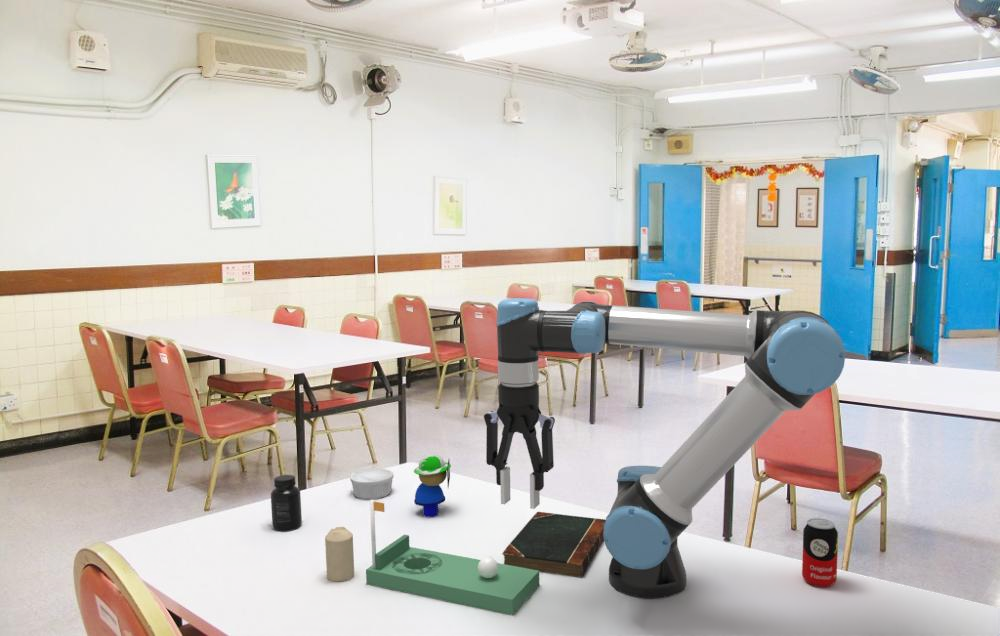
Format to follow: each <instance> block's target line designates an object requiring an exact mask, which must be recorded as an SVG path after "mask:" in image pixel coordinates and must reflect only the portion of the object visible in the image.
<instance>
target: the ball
mask: <svg viewBox="0 0 1000 636" xmlns="http://www.w3.org/2000/svg"><path fill="white" fill-rule="evenodd" d="M479 560H480V562H479V564H478V571H479V573H480V575H481V576H482V577H484V578H492V577H494V576H495V575H496V574H497V572H498V563H499V562H498V561H497V560H496V558H494V557H491V556H485V557H483V558H481V559H479Z"/></svg>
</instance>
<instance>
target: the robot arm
mask: <svg viewBox="0 0 1000 636" xmlns="http://www.w3.org/2000/svg"><path fill="white" fill-rule="evenodd" d="M495 327H496V334H497V337H496V338H497V339H496V340H497V380H498V382H499V384H498V386H497V392H498V393H497V395H498V399H497V402H498V408H497V410H495V411H492V410H491V411H488V412H486V413H485V414H483V419H484V422H485V426H486V442H485V443H486V456H485V457H486V461H485V462H486V464H487V465H488V466H492V467H493V468H494V469H495V474H496V475H495V477H496V478H495V479H496V480H495V481H496V484H497V486H500V505H507V503H508V502H509V501H511V466H506V465H508V458H509V454H510V450H511V445H512V442H513V438H514V434H515V433H518V434H522V437H523V439H524V440H525V445H526V448H527V451H528V456H529V459H530V462H531V466H532V470H533V472H531V473H529V500H530V501H529V503H530V504H529V505H530V506H529V509H533V510H535V509H536V508H537V507H538V506H539V505H540V504H541V503H540V492H541V491H542V490H543V489H544V486H545V478H544V477H545V476H544V475H545V474H544V473H548V472H549V471H551V470H552V469H553V468H554V466H555V464H554V440H553V439H554V438H553V437H554V436H553V428H554V426H555V422H556V419H555V417H554V416H550V417H548V416H545V415H544V414H542V411H541V410H540V405H539V404H540V386H539V383H537V382H538V381H539V379H540V376H539V373H540V372H539V360H540V359H539V352H541V353H546V352H547V353H549V352H550V353H565V354H566V353H570V354H580V355H585V354H597V353H598V354H599V353H600V352H602V351H603V349H604V346H605V345H619V346H628V347H630V346H631V347H639V348H640V347H641V348H653V349H655V348H656V349H663V350H674V351H686V352H695V353H696V352H697V353H698V352H699V353H706V354H707V353H708V354H716V355H717V354H718V355H727V356H728V355H729V356H738V357H739V356H741V357H742V356H743V357H744V358H746V359H747V360H746V361H745V362H744V369H745V370H744V372H745V375H744V376H743V378H742V379H741V380H740V381H739V382H738V384H736V386H735V387H733V389H732V390H731V391H730V392H729V393H728V394H727V395H726V396H725V398H724V399H723V400H722V401H721V402H720V403H719V404H718V405H717V406H716V408H714V409H713V411H712V412H711V413H710V414H709V415H708V416H707V417H706V418H705V419H704V420H703V421H702V423H701V424H700V425H699V426H698V427H697V428H696V429H695V430H694V431H693V432H692V434H691V435H690V436H689V437H688V438H687V439H686V440H685V441H684V442H683V443H682V444H681V445H680V447H679V448H678V449H676V451H675V452H673V454H672V455H671V456H670V458H668V460H667V461H666V462H665V463H664V464H663V465H662V466H661V467H660V466H657V465H655V466H654V465H630V466H629V465H628V466H624V467H622V468H620V469H619V470H618V473H617V478H616V483H617V495H616V497H615V500H614V502H613V504H612V507H611V509H610V511H609V513H608V515H606V517H605V522H604V532H603V536H604V540H603V542H604V544H605V547H606V549H607V552H608V553H609V554H610V555H611V557H612V558H611V561H610V564H609V566H608V567H609V568H608V581H609V584H610V585H611V586H612V587H613V588H614V589H616V590H617V591H619V592H621V593H623V594H625V595H628V596H632V597H637V598H644V599H662V598H668V597H672V596H675V595H678V594H679V593H681V592H683V591H684V590H685V588H687V587H686V586H687V571H686V568H685V563H684V562H683V558H682V555H681V553H680V549H679V545H678V537H679V536H680V535H681V534H682V533H683V532H684V531H685V530H686V529H687V528H688V527H689V526H690V524H692V523H693V509H694V507H695V506H697V504H699V502H700V501H701V500H702V499H703V498H704V497H705V496H706V495H707V494H708V493H709V492H710V491H711V490H712V489H713V487H714V486H715V485H716V484H717V483H718V482H719V481H721V479H722V478H723V477H724V476H725V475H726V474H727V473H728V472H729V471H730V470H731V469H732V468H733V467H734V465H736V464H737V462H738V461H739V460H740V459H741V458H742V457H743V456H744V455H745V454H746V453H747V452H748V451H749V450H750V448H752V447H753V446H754V444H755V443H756V442H757V441H758V440H759V439H760V438H761V437H762V436H763V435H765V433H766V432H767V431H768V430H769V429H770V428H772V426H773V425H774V424H775V423H776V421H778V420H779V418H781V416H782V415H783V414H784V413H785V412H788V411H800V410H802V408H803V407H804V406H806V405H807V403H808V402H809V401H810V400H811V399H813V398H814V396H815V395H816V394H819V393H822V392H824V391H826V390H827V389H830V387H832V386H834V384H835V383H836V382H837V380H838V379H839V378H840V377H841V374H842V373H843V370H844V367H845V360H846V351H845V350H846V348H845V345H844V342H843V339H842V337H841V336H840V334H839V332H838V331H837V330H835V329H834V327H832V325H831V324H830V323H829V322H828V321H827V320H826V319H825V318H824V317H822V316H821V315H819V314H818V313H815V312H812V311H807V310H761V309H760V310H759V309H754V310H753V311H751V313H749V314H737V313H723V312H722V313H721V312H708V311H698V310H697V311H696V310H682V309H681V310H679V309H670V308H669V309H668V308H654V307H642V306H641V307H640V306H627V305H626V306H625V305H616V304H614V305H609V304H602V303H601V304H599V303H597V302H595V301H581V302H578V303H576V304H575V305H573V306H572V307H570V308H568V309H566V310H543V309H540V307H539V303H538V300H537V299H534V298H525V297H524V298H522V297H519V298H506V299H502V300H501V301H499V303H498V304H497V315H496V326H495ZM499 420H500V421H501V424H502V425H503V427H502V432H501V440H500V445H498V444H499V443H498V442H499V441H498V440H499V437H498V435H499V433H498V432H499V429H498V428H499V426H498V425H499V424H498V422H499ZM538 422H539V425H540V427H539V428H541V435H540V436H541V449H540V446H539V442H538V437H537V430H536V424H538ZM498 446H499V449H498Z"/></svg>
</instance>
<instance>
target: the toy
mask: <svg viewBox="0 0 1000 636" xmlns="http://www.w3.org/2000/svg"><path fill="white" fill-rule="evenodd" d="M451 467H452V466H451V464H450V459H448V461H447V462H445V460H444V458H443V457H442V456H441V455H439V454H437V453H427V454H425V455H424V456H422V457H421V458H420V460H419V463H418V466H417V467H415V468H414V470H413V473H414V474H415V475H418V478H419V480H420V482H421V483H420V484H419V485H418V486H417V488H416V491H415V494H414V500H413V501H414V504H415V505H416V506H421V507H422V510H423V511H422V512H423V516H424V517H426V518H433V517H436V516H438V512H439V505H440V504H442V503H444V502H446V496H445V494H444V491H443V488H442V487H441V484H442V483H444V481H446V478H447V481H446V482H447V488H449V485H450V481H451V480H450V479H451V470H450V469H451Z"/></svg>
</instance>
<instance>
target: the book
mask: <svg viewBox="0 0 1000 636" xmlns="http://www.w3.org/2000/svg"><path fill="white" fill-rule="evenodd" d="M605 520H606V518H604V519H603V518H595V517H585V516H575V515H569V514H568V515H567V514H559V513H554V512H546V511H542V512H541V511H536V513H534V515H533V516H532V517H531V518H530V520H529V521H527V523H526V524H525V525H524V527H523V528H522V529H521V530H520V531H519V532H518V534H517V535H516V536H515V537H514V538H513V539H512V541H510V543H509V544H508V545H507V546H506V547H505V549H504V550H503V552H502V553H501V554H502V555H503V559H504V561H503V562H504V563H503V564H505V565H511V566H516V567H522V568H527V569H532V570H538V571H539V573H541V572H542V573H547V574H548V573H549V574H554V575H562V576H569V577H570V576H571V577H576V578H580V579H582V578H583V576H584V575H585V573H586V572H587V569H588V567H589V566H590V564H591V562H592V561H593V559H594V558H595V556H596V555H597V552H598V550H599V549H600V547H601V546H602V544H603V542H604V536H603V532H604V522H605Z"/></svg>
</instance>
